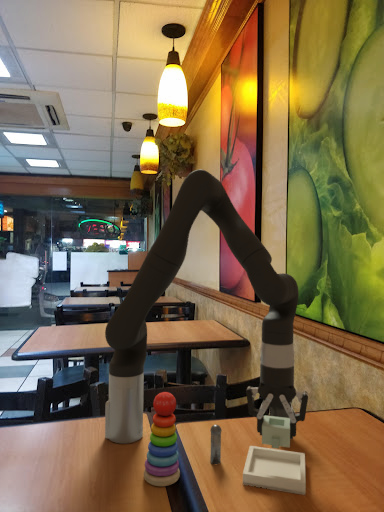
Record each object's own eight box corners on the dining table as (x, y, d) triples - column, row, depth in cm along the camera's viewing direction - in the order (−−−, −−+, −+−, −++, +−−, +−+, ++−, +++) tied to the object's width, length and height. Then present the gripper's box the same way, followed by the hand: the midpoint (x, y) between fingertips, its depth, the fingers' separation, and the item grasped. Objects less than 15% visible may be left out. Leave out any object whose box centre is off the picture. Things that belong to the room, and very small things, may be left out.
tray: (242, 484, 86) (242, 473, 86) (249, 455, 98) (249, 445, 98) (305, 495, 82) (305, 483, 82) (304, 463, 95) (304, 453, 95)
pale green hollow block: (264, 432, 94) (264, 415, 94) (290, 435, 92) (290, 418, 92) (261, 446, 87) (261, 428, 87) (289, 450, 85) (289, 431, 85)
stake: (208, 463, 94) (209, 426, 94) (211, 458, 96) (211, 422, 96) (219, 465, 93) (220, 428, 93) (221, 459, 96) (222, 423, 96)
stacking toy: (165, 492, 82) (167, 402, 82) (136, 480, 86) (137, 394, 86) (186, 475, 89) (188, 391, 89) (158, 464, 93) (159, 384, 93)
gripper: (309, 360, 92) (308, 432, 92) (247, 355, 96) (246, 425, 96) (310, 369, 85) (309, 448, 85) (243, 363, 88) (242, 439, 88)
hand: (276, 435), depth 90 cm, fingers closed on pale green hollow block, 6 cm apart
